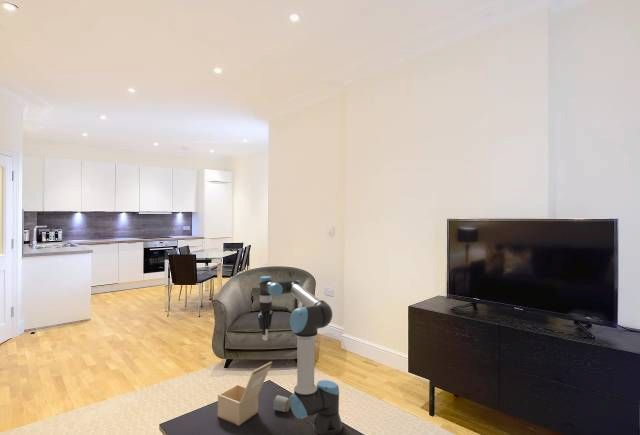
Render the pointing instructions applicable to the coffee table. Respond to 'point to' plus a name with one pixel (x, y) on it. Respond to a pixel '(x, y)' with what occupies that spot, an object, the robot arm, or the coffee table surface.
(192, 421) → the coffee table surface
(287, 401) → the ceramic mug
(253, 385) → the carton lid
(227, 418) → the carton
